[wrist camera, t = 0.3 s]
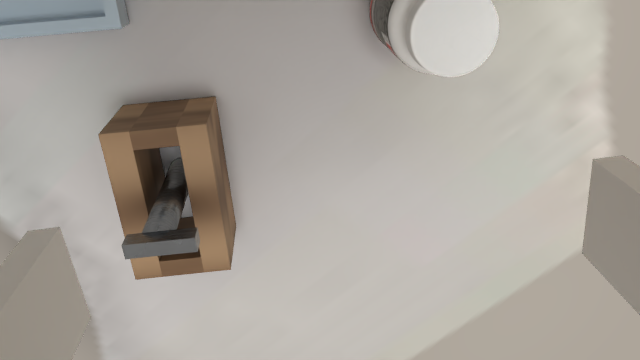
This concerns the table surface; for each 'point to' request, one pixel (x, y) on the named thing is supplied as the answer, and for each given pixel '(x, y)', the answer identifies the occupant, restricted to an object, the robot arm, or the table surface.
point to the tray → (59, 17)
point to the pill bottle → (437, 33)
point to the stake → (165, 221)
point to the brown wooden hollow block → (148, 176)
